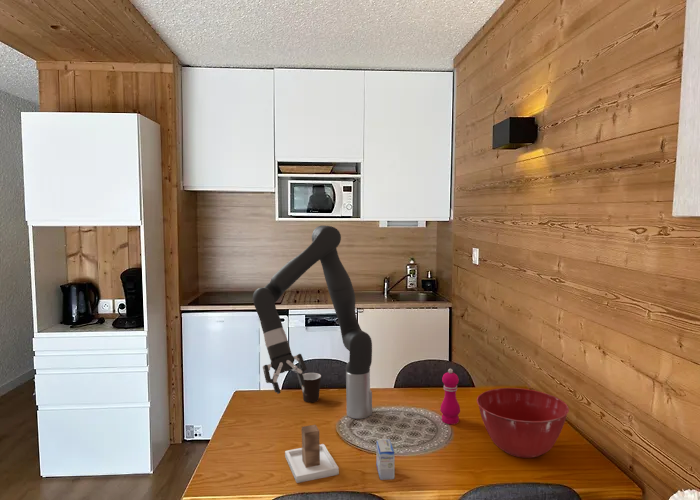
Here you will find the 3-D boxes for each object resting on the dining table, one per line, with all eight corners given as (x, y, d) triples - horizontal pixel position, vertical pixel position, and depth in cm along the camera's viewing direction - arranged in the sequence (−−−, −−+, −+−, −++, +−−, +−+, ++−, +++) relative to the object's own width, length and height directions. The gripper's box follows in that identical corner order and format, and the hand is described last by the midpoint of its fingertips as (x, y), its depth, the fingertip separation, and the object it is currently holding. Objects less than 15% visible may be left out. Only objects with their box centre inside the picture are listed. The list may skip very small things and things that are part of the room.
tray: (323, 449, 159) (323, 443, 159) (338, 474, 144) (338, 468, 144) (285, 456, 155) (285, 450, 155) (296, 483, 140) (296, 476, 140)
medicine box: (376, 466, 149) (376, 439, 148) (390, 465, 149) (390, 438, 148) (379, 480, 141) (379, 452, 140) (394, 479, 141) (394, 451, 141)
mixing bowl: (459, 437, 167) (459, 394, 166) (524, 422, 177) (525, 382, 176) (515, 478, 141) (516, 428, 139) (588, 459, 151) (589, 411, 150)
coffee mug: (320, 403, 198) (320, 379, 197) (299, 403, 198) (299, 379, 197) (322, 392, 209) (322, 370, 208) (302, 392, 209) (302, 370, 209)
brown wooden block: (316, 458, 152) (315, 424, 152) (319, 465, 148) (319, 430, 147) (302, 460, 151) (301, 426, 150) (305, 467, 147) (304, 433, 146)
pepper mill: (460, 425, 176) (460, 372, 174) (440, 424, 177) (440, 371, 175) (459, 417, 183) (460, 366, 181) (440, 416, 184) (440, 365, 182)
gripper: (259, 347, 160) (273, 395, 157) (298, 335, 167) (313, 381, 163) (255, 350, 167) (268, 397, 163) (292, 339, 173) (306, 383, 170)
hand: (290, 389), depth 163 cm, fingers open, 8 cm apart
